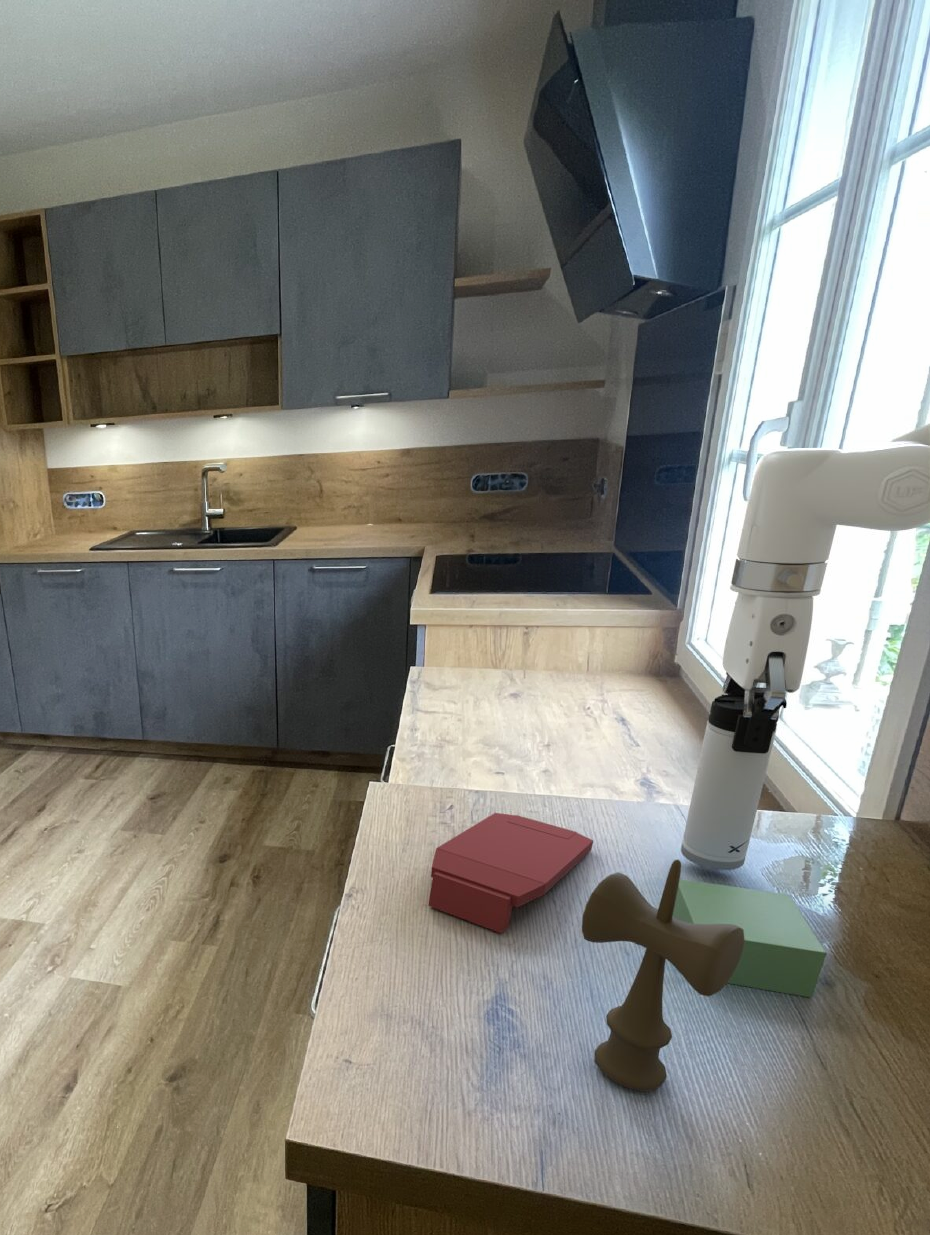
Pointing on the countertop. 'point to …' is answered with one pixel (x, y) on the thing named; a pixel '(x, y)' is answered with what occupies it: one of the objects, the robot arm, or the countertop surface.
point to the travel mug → (724, 791)
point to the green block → (758, 934)
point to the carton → (501, 867)
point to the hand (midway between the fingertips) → (740, 738)
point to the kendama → (653, 971)
